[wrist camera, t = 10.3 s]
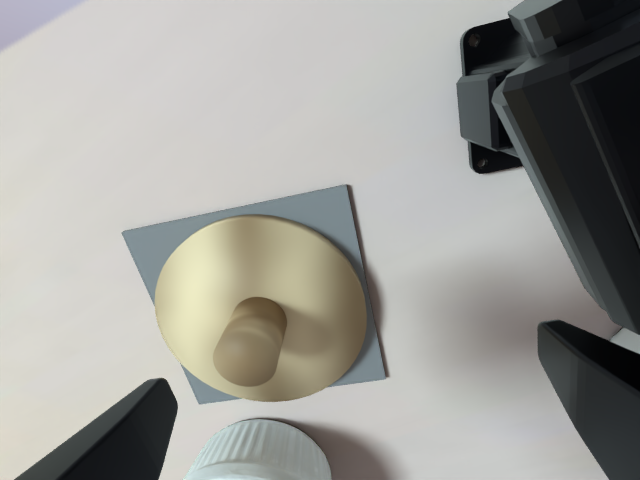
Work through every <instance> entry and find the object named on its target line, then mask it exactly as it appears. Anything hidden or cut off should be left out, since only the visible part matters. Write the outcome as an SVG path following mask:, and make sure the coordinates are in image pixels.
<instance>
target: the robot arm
mask: <svg viewBox="0 0 640 480" xmlns="http://www.w3.org/2000/svg"><path fill="white" fill-rule="evenodd" d="M508 15H509V17H510V18H508V19H504V20H500V21H496V22H492V23H488V24H484V25H480V26H477V27H473V28H471V29H469V30H467V31H466V32H465V33H464V34H463V35H462V37H461V40H460V49H461V62H462V75H463V77H461V78H460V79H459V81H458V82H457V97H458V108H459V120H460V132H461V137H462V138H464V139H465V140H467V141H468V151H469V164H470V168H471V169H472V170H473V171H474V172H476V173H479V174H484V173H489V172H494V171H499V170H504V169H509V168H514V167H518V166H524V168H525V170H526V172H527V174H528V176H529V178H530V180H531V182H532V184H533V186H534V188H535V190H536V192H537V194H538V196H539V198H540V200H541V202H542V204H543V206H544V208H545V210H546V212H547V214H548V216H549V218H550V220H551V222H552V224H553V226H554V228H555V230H556V232H557V234H558V236H559V238H560V240H561V242H562V244H563V246H564V248H565V250H566V252H567V254H568V256H569V258H570V260H571V262H572V264H573V266H574V268H575V270H576V272H577V274H578V276H579V278H580V280H581V282H582V284H583V286H584V288H585V289H586V290H587V292H588V293H589V294H590V295H591V296H592V298H593V299H594V300H595V301H596V302H597V304H598V305H599V306H600V307H601V308H602V309H604V310H605V311H607V313H608V315H609V317H610V319H611V320H612V321H613V322H614V323H616V324H618V325H620V326H622V327H624V328H626V329H628V330H630V331H632V332H634V333H636V334H638V335H640V0H524V1H523V2H521V3H520V4H518V5H517V6H516V7H514V8H513V9H511V10H510V11H509V12H508ZM471 35H475V36H476V37H477V44H476V45H475V46H471V45H469V42H468V41H469V37H470V36H471ZM482 158H483V159H485V164H484V165H483V166H482V167H478V166H477V164H478V161H479V160H480V159H482ZM537 331H538V356H539V360H540V362H541V364H542V366H543V368H544V370H545V372H546V374H547V376H548V378H549V379H550V381H551V383H552V385H553V387H554V389H555V391H556V393H557V395H558V397H559V399H560V400H561V402H562V404H563V406H564V408H565V410H566V412H567V414H568V416H569V418H570V419H571V421H572V423H573V425H574V427H575V428H576V430H577V432H578V433H579V435H580V436H581V438H582V439H583V441H584V443H585V444H586V446H587V447H588V449H589V450H590V452H591V453H592V455H593V456H594V458H595V459H596V461H597V462H598V464H599V465H600V467H601V468H602V470H603V471H604V473H605V474H606V476H607V477H608V479H609V480H640V354H638V353H636V352H634V351H631V350H629V349H627V348H624V347H622V346H620V345H617V344H615V343H613V342H610V341H608V340H606V339H603V338H601V337H599V336H596V335H594V334H592V333H589V332H587V331H585V330H582V329H580V328H578V327H575V326H573V325H571V324H568V323H566V322H564V321H561V320H551V321H544V322H540V323H539V324H538V329H537ZM177 410H178V404H177V401H176V398H175V396H174V394H173V392H172V390H171V388H170V386H169V384H168V382H167V380H166V379H164V378H157V379H150V380H147V381H146V382H144V383H143V384H142V385H140V386H139V387H138V388H136V389H135V390H134V391H132V392H131V393H130V394H128V395H127V396H126V397H124V398H123V399H121V400H120V401H119V402H117V403H116V404H115V405H113V406H112V407H111V408H109V409H108V410H107V411H105V412H104V413H103V414H101V415H100V416H99V417H97V418H96V419H95V420H93V421H92V422H91V423H89V424H88V425H87V426H85V427H84V428H83V429H81V430H80V431H79V432H77V433H76V434H75V435H73V436H72V437H71V438H69V439H68V440H67V441H65V442H64V443H62V444H61V445H60V446H58V447H57V448H56V449H54V450H53V451H52V452H50V453H49V454H48V455H46V456H45V457H44V458H42V459H41V460H40V461H38V462H37V463H36V464H34V465H33V466H32V467H30V468H29V469H28V470H26V471H25V472H24V473H22V474H21V475H20V476H18V477H17V478H16V479H14V480H158V479H159V476H160V473H161V470H162V467H163V463H164V460H165V456H166V452H167V448H168V445H169V441H170V437H171V434H172V430H173V426H174V422H175V419H176V415H177Z"/></svg>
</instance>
